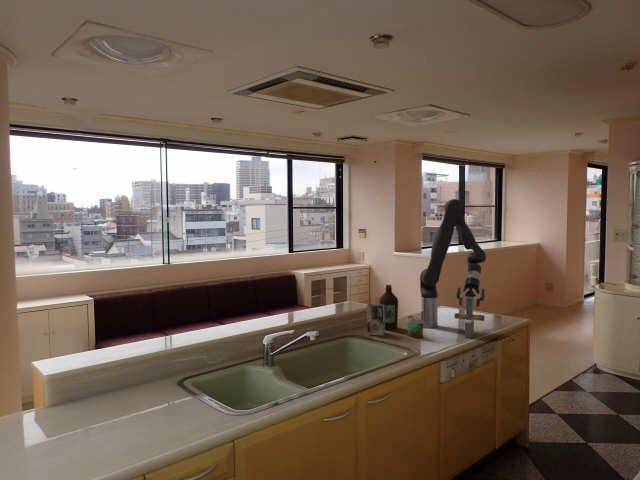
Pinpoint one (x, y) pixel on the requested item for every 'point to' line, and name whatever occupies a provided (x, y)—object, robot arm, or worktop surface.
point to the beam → (469, 312)
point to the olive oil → (390, 308)
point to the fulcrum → (469, 328)
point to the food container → (415, 327)
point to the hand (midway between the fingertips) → (468, 305)
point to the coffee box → (375, 319)
